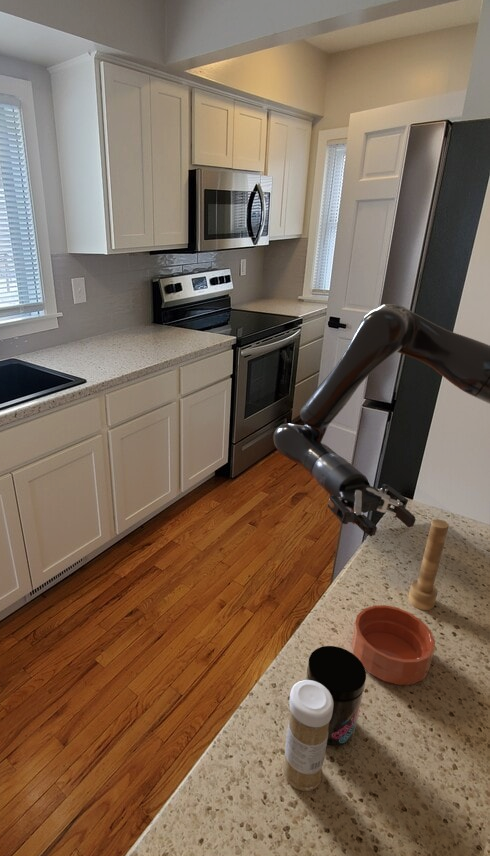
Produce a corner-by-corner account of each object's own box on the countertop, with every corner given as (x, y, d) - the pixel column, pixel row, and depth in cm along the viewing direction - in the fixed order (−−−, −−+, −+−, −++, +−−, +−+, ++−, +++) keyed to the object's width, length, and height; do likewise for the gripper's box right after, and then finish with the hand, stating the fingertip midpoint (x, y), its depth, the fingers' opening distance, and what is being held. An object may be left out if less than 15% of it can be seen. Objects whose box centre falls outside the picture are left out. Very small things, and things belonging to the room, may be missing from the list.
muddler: (423, 591, 85) (442, 515, 78) (439, 608, 81) (460, 529, 75) (403, 595, 84) (420, 518, 78) (418, 611, 81) (437, 532, 74)
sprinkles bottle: (308, 749, 61) (319, 673, 55) (328, 787, 57) (342, 709, 51) (275, 759, 60) (283, 683, 54) (293, 798, 56) (303, 720, 50)
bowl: (398, 623, 79) (403, 600, 77) (444, 680, 69) (452, 655, 67) (338, 634, 77) (341, 610, 75) (376, 694, 67) (382, 668, 65)
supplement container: (321, 758, 60) (331, 700, 55) (291, 710, 66) (297, 654, 61) (366, 739, 62) (379, 681, 57) (332, 694, 68) (341, 639, 63)
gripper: (312, 468, 97) (366, 518, 83) (371, 457, 101) (431, 504, 87) (306, 498, 100) (356, 551, 87) (363, 487, 104) (419, 536, 91)
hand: (394, 527), depth 87 cm, fingers open, 8 cm apart
